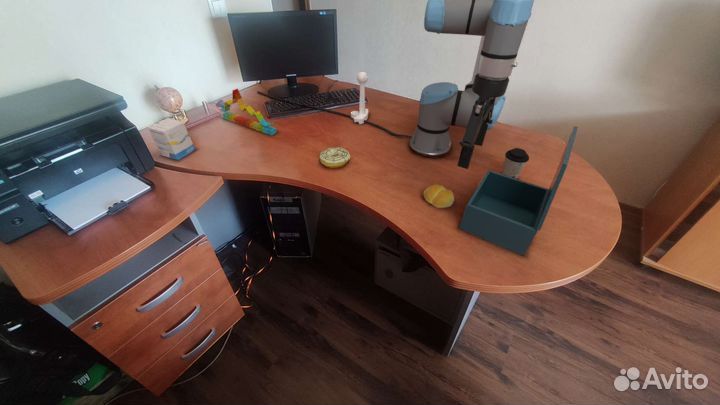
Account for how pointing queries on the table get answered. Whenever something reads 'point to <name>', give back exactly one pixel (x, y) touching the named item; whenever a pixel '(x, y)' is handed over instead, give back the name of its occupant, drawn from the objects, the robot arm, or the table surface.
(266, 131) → the colourful triangular block frame
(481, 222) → the dark teal hollow box
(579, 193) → the table surface
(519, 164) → the coffee cup
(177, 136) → the ink box
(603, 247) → the table surface
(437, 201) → the bread roll
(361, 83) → the joystick
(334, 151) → the decorated donut
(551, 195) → the lid
